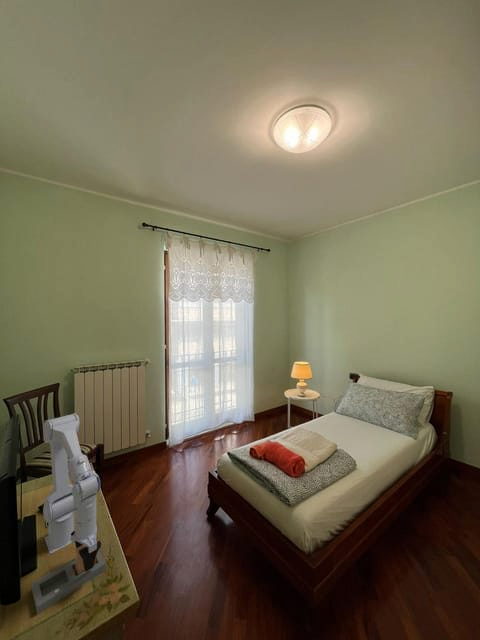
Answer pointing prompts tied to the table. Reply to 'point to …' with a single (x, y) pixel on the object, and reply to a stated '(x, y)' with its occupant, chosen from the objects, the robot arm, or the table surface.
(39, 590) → the grey slotted tray
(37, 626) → the table surface
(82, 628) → the table surface
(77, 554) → the tan rectangular block
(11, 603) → the table surface
